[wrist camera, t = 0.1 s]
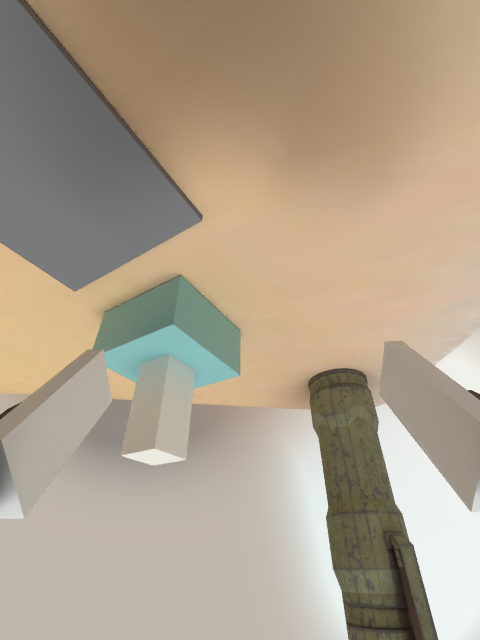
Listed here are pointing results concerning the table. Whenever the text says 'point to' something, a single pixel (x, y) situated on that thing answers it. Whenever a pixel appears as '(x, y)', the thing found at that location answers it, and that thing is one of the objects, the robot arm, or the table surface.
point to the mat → (73, 164)
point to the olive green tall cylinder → (365, 516)
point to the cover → (166, 363)
